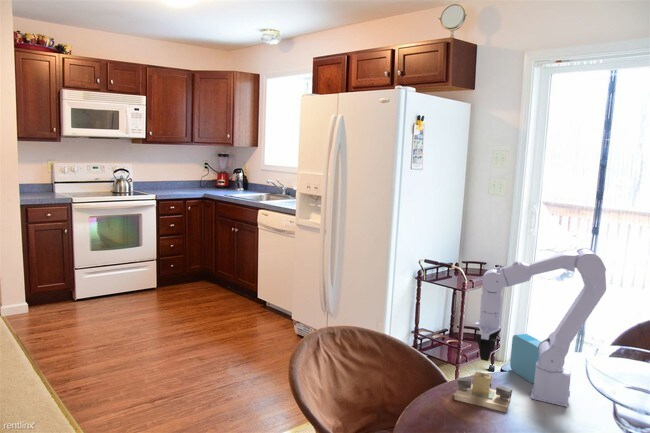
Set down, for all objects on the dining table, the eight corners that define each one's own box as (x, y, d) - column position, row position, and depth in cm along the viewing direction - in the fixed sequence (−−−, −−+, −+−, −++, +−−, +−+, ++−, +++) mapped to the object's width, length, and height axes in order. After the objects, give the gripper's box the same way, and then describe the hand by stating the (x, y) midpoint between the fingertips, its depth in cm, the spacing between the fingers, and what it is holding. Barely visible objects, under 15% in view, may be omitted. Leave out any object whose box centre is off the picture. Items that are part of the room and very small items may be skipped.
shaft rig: (512, 398, 144) (513, 383, 143) (508, 412, 136) (509, 396, 135) (459, 386, 150) (460, 371, 150) (452, 399, 142) (453, 383, 142)
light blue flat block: (547, 384, 154) (551, 346, 153) (534, 385, 153) (538, 347, 151) (520, 367, 166) (524, 332, 164) (509, 369, 164) (512, 333, 163)
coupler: (491, 392, 143) (492, 375, 143) (489, 396, 141) (491, 379, 140) (473, 387, 145) (474, 371, 145) (471, 392, 143) (472, 375, 142)
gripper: (480, 302, 157) (477, 344, 158) (471, 315, 144) (468, 361, 146) (504, 306, 154) (500, 349, 155) (497, 319, 141) (493, 366, 142)
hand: (486, 355), depth 150 cm, fingers open, 7 cm apart
